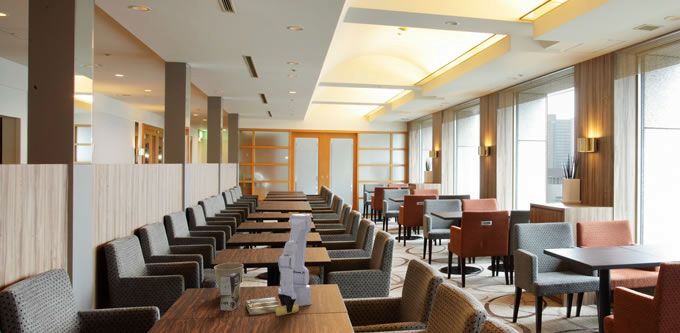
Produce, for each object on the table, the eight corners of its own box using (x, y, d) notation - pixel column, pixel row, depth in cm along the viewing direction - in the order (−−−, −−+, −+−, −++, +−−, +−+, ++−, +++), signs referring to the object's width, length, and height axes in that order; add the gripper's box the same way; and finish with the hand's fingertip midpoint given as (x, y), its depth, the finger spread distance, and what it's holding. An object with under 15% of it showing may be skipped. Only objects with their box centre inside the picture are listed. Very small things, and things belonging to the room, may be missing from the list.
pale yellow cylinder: (294, 310, 212) (294, 302, 212) (298, 313, 209) (298, 304, 209) (275, 314, 207) (275, 306, 207) (279, 317, 203) (279, 308, 203)
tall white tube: (274, 304, 223) (274, 296, 222) (275, 306, 219) (275, 298, 219) (253, 306, 219) (253, 298, 219) (254, 309, 216) (254, 301, 215)
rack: (275, 302, 224) (275, 296, 224) (280, 311, 212) (280, 304, 212) (246, 306, 220) (246, 299, 220) (250, 314, 207) (250, 308, 207)
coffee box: (232, 311, 212) (232, 276, 212) (220, 310, 214) (219, 276, 214) (241, 305, 221) (240, 272, 221) (228, 304, 223) (228, 271, 222)
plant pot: (221, 291, 244) (220, 262, 244) (247, 292, 242) (247, 263, 242) (209, 300, 229) (209, 268, 229) (237, 301, 227) (237, 269, 227)
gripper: (272, 279, 211) (272, 308, 212) (286, 286, 199) (286, 316, 200) (285, 277, 215) (285, 305, 216) (300, 283, 203) (300, 313, 204)
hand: (287, 310), depth 208 cm, fingers closed on pale yellow cylinder, 4 cm apart
